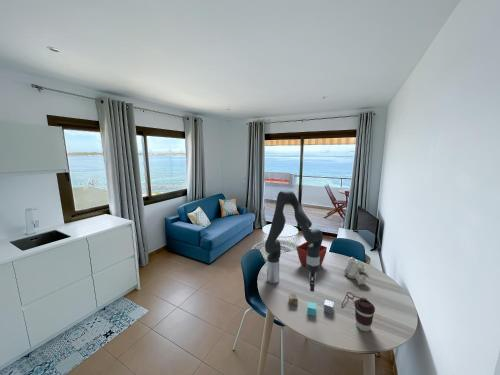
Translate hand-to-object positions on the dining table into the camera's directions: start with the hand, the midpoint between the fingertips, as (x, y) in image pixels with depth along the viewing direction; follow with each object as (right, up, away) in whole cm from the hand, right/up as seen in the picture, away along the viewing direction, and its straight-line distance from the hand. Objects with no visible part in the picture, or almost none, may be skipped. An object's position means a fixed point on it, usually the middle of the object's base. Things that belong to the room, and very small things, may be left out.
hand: (312, 286), depth 124 cm
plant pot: (+16, -8, +56) cm, 59 cm away
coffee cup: (+26, -19, -8) cm, 33 cm away
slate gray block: (+12, -17, +4) cm, 21 cm away
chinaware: (+46, -11, +38) cm, 61 cm away
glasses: (+29, -17, +7) cm, 34 cm away
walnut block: (-9, -16, +11) cm, 22 cm away
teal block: (0, -18, +3) cm, 18 cm away
